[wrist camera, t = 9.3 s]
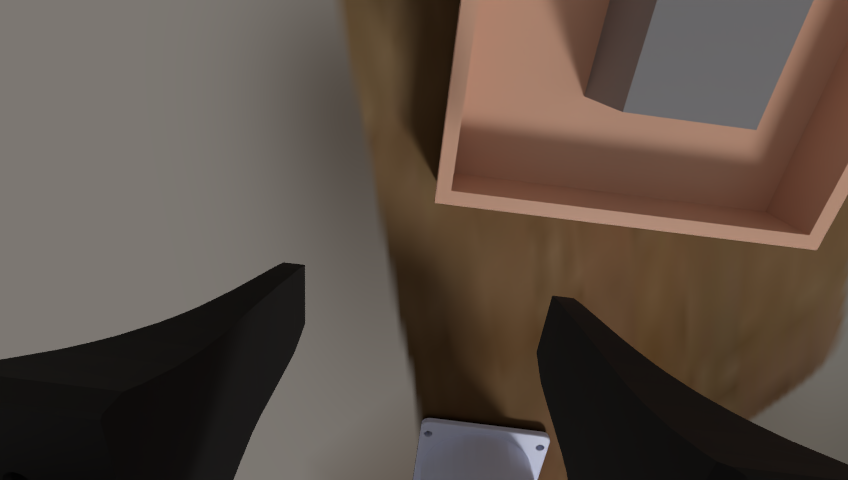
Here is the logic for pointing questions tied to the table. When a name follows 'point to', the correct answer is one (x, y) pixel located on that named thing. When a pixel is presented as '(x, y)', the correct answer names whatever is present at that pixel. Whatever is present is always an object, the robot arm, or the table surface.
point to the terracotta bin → (638, 133)
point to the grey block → (694, 57)
